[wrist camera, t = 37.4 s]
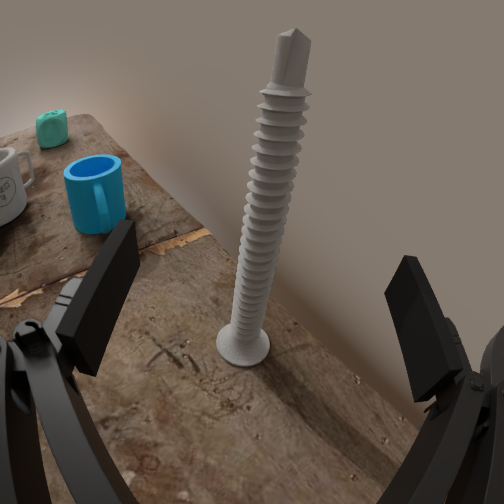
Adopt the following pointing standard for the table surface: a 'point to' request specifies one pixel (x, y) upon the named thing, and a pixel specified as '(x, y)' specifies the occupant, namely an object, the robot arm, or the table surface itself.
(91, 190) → the mug
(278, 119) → the screw
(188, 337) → the table surface
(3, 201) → the mug
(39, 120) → the decorative dice
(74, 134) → the table surface
